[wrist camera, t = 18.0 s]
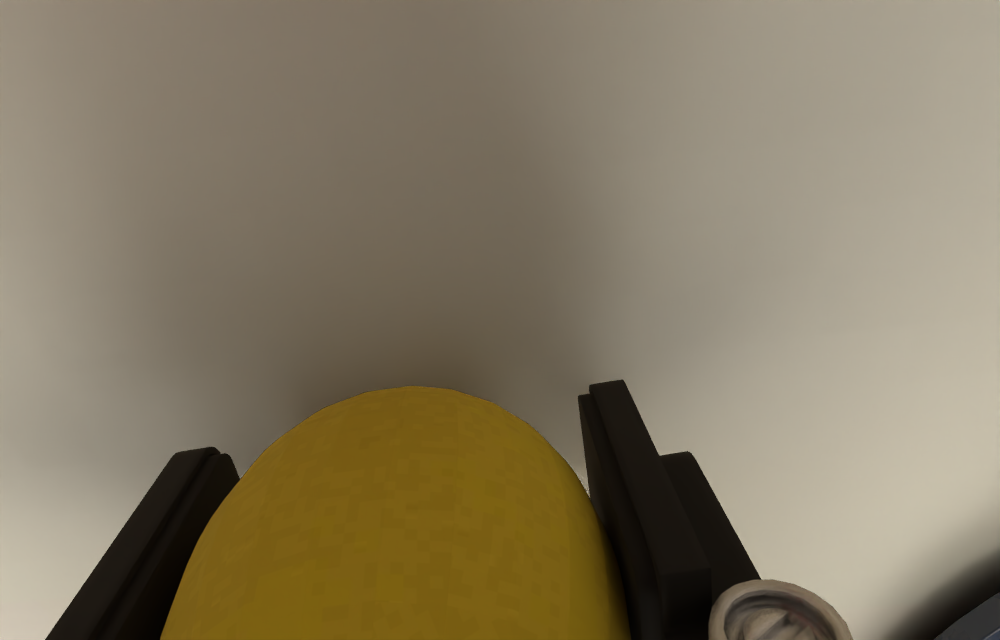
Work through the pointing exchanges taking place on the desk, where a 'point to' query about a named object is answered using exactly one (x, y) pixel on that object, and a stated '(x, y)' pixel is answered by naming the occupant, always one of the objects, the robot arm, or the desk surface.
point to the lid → (977, 623)
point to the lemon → (404, 533)
